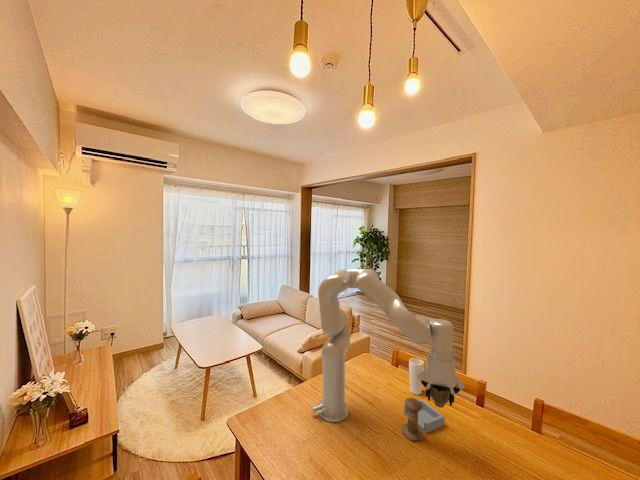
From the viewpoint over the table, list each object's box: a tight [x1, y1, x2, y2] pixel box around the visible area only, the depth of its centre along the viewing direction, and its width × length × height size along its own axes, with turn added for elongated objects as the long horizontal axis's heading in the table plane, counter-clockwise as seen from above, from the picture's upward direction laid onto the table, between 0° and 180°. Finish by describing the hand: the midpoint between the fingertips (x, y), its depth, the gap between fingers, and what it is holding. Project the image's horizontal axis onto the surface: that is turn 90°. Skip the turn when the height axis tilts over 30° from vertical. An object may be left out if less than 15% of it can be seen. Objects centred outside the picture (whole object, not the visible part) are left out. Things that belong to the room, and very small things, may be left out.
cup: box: [430, 384, 451, 409], centre depth 96 cm, size 8×7×8 cm
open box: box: [403, 398, 446, 434], centre depth 106 cm, size 10×12×4 cm
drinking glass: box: [408, 357, 425, 396], centre depth 124 cm, size 7×7×15 cm
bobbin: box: [401, 397, 424, 443], centre depth 98 cm, size 8×8×12 cm
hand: (439, 400), depth 96 cm, fingers closed on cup, 6 cm apart
